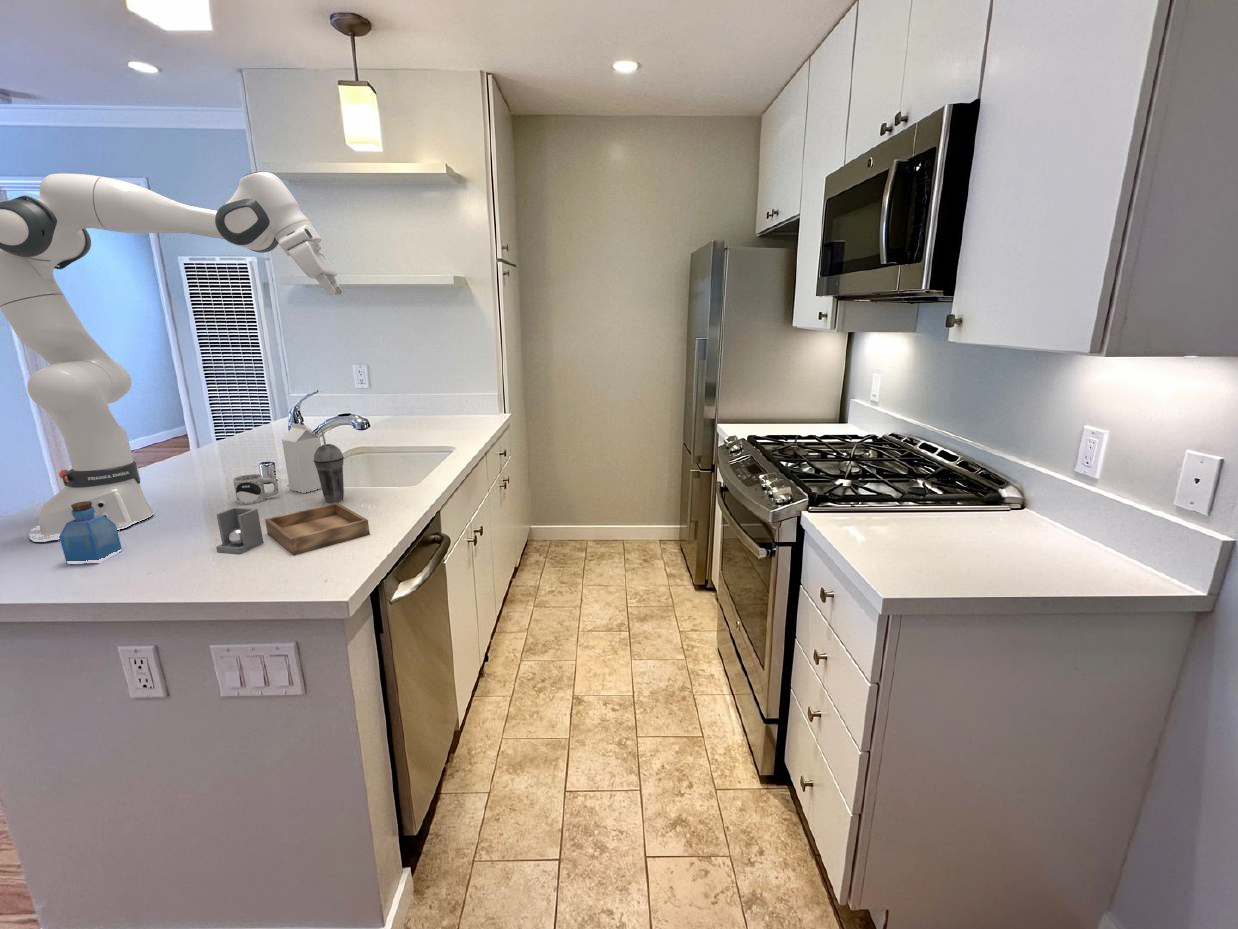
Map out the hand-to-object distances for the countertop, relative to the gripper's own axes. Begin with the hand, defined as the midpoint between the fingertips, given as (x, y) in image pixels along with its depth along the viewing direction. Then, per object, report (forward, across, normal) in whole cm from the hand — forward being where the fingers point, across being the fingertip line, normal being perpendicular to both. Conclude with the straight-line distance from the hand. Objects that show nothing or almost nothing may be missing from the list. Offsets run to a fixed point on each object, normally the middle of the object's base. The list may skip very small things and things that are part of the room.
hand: (336, 294), depth 143 cm
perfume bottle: (+25, +27, -68) cm, 77 cm away
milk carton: (+40, -14, -40) cm, 58 cm away
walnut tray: (+44, +26, -30) cm, 59 cm away
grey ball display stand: (+38, +30, -43) cm, 64 cm away
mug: (+35, -7, -49) cm, 61 cm away
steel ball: (+35, +30, -42) cm, 62 cm away
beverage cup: (+44, 0, -32) cm, 54 cm away
